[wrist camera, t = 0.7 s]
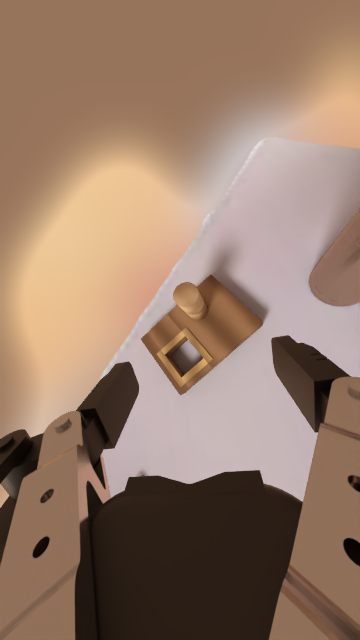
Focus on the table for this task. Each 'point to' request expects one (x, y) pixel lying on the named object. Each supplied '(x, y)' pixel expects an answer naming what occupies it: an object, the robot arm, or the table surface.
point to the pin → (190, 300)
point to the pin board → (201, 334)
